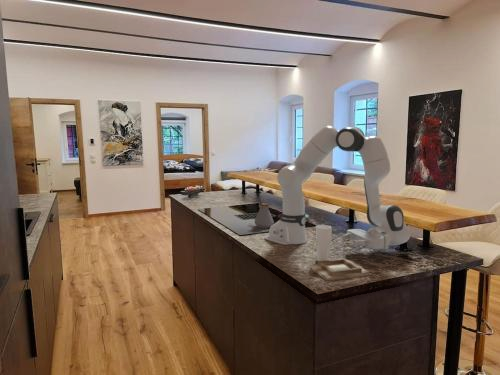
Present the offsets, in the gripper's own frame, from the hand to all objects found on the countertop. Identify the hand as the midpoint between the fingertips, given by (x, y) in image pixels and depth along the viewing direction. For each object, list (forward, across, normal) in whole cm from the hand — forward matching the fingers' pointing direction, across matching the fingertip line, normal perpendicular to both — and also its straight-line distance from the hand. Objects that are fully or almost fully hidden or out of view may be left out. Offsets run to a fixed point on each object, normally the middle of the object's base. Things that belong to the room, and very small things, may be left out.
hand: (348, 240), depth 158 cm
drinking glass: (+12, 0, +8) cm, 15 cm away
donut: (-9, -71, +8) cm, 73 cm away
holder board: (+12, +13, +8) cm, 19 cm away
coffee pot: (+16, -70, +8) cm, 72 cm away
